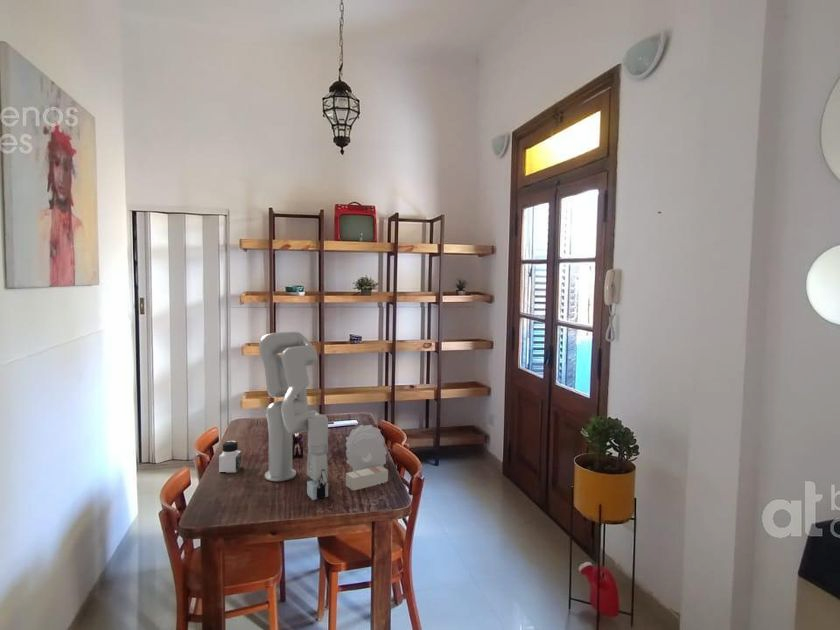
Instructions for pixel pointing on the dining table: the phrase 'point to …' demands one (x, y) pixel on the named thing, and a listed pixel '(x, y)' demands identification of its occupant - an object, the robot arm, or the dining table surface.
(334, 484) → the dining table surface
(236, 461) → the medicine bottle
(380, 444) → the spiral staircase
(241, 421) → the dining table surface
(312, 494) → the grey box
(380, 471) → the block
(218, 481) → the dining table surface
